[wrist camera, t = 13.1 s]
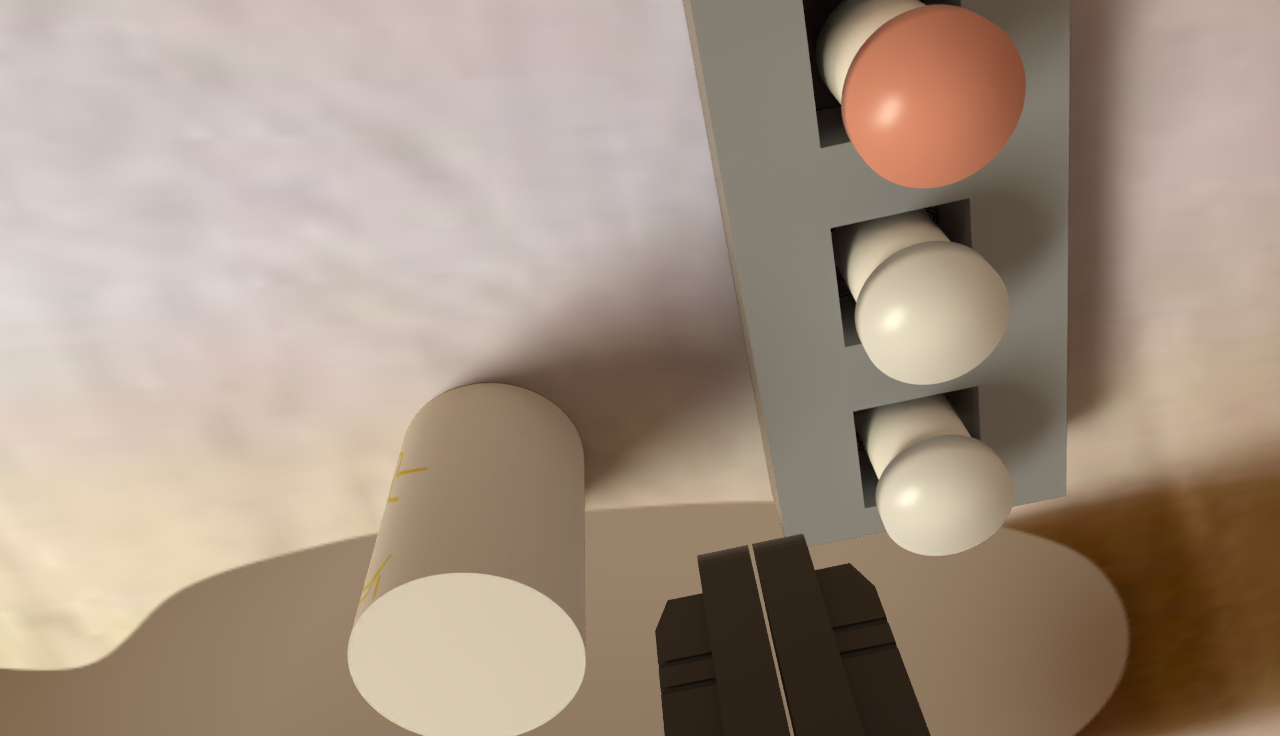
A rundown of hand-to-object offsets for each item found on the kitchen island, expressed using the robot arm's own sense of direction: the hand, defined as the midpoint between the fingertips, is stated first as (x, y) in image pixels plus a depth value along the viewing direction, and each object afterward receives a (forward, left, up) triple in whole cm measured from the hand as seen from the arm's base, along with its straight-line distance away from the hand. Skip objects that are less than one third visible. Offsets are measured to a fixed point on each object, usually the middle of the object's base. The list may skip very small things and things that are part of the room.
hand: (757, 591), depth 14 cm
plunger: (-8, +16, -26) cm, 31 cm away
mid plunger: (-8, +8, -26) cm, 28 cm away
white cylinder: (+10, +15, -27) cm, 32 cm away
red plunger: (-8, 0, -24) cm, 25 cm away
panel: (-8, +8, -27) cm, 29 cm away
